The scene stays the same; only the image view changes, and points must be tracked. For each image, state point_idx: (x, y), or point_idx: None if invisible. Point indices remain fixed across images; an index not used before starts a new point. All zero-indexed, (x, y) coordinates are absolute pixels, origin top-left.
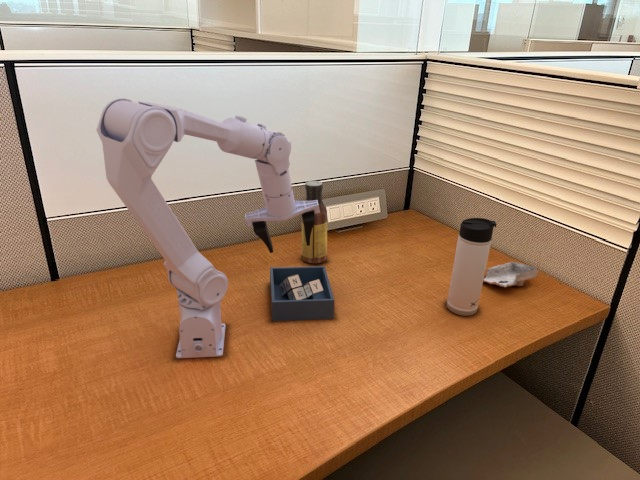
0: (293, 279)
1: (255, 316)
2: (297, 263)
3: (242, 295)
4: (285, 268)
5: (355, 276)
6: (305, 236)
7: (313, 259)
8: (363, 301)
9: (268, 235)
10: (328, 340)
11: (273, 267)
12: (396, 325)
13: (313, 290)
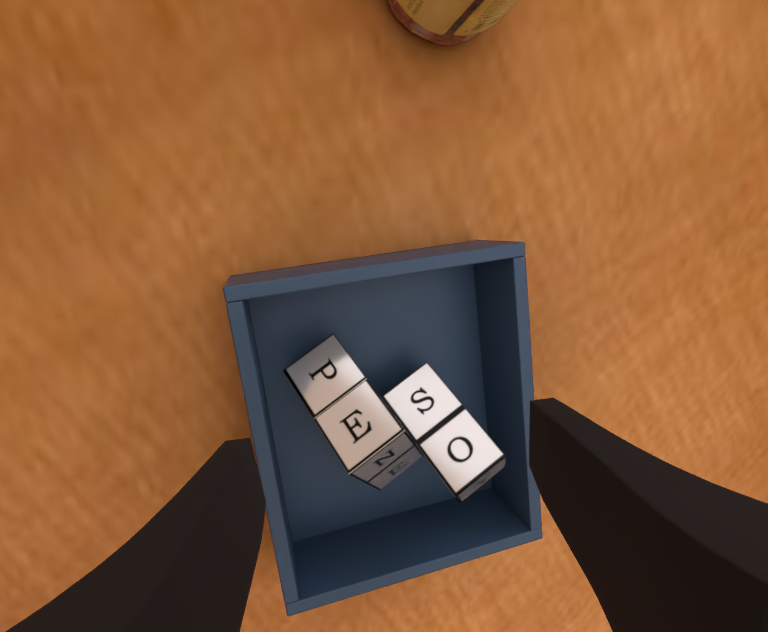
0: (379, 459)
1: None
2: (349, 27)
3: (107, 388)
4: (317, 288)
5: (607, 168)
6: (564, 501)
7: (444, 34)
8: (607, 363)
9: (213, 624)
10: (477, 602)
11: (244, 286)
12: None
13: (466, 496)
